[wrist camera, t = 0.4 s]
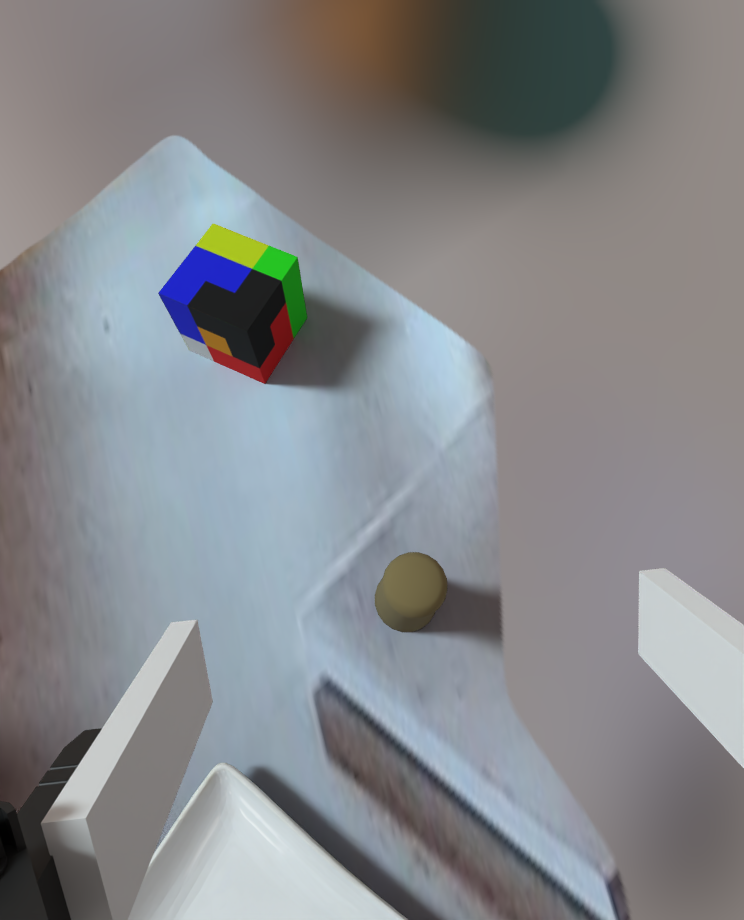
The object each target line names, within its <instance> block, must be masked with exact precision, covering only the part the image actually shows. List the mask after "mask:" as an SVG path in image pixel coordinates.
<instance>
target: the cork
mask: <svg viewBox="0 0 744 920" xmlns="http://www.w3.org/2000/svg"><path fill="white" fill-rule="evenodd" d="M446 593H447V578H446V576H445V573H444V571H443V569H442V567H441V566H440V565H439V564H438V562H437V561H436V560H434V559H433V558H431V557H430V556H428V555H425V554H422V553H419V552H410V553H406V554H403V555H400V556H398V557H397V558H395V559H394V560H393V561H391V563H390V564H389V565H388V567H387V568H386V570H385V573H384V576H383V578H382V580H381V581H380V583H379V584H378V586H377V590H376V593H375V606H376V609H377V612H378V615H379V616H380V618H381V619H382V620H383V622H384V623H385V624H386V625H388V626H389V627H391V628H392V629H394V630H397V631H400V632H413V631H416V630H419V629H422V628H423V627H424V626H425V625H427V624H428V623H429V622H430V621H431V619H432V617H433V616H434V614H435V611H436V610H438V609H439V608H440V606H441V605H442V603H443V602H444V600H445V597H446Z"/></svg>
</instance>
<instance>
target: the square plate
mask: <svg viewBox="0 0 744 920" xmlns="http://www.w3.org/2000/svg"><path fill="white" fill-rule="evenodd" d="M128 920H408V919H407V918H406V917H404V916H403V915H402V914H400V913H399V912H398V911H397V910H395V909H394V908H393V907H392V906H391V905H389V904H388V903H387V902H386V901H384V900H383V899H382V898H381V897H379V896H378V895H377V894H376V893H375V892H373V891H372V890H371V889H370V888H369V887H367V886H366V885H365V884H364V883H363V882H362V881H360V880H359V879H358V878H357V877H356V876H354V875H353V874H352V873H351V872H350V871H348V870H347V869H346V868H345V867H344V866H343V865H342V864H341V863H339V862H338V861H337V860H336V859H335V858H334V857H333V856H332V855H331V854H329V853H328V852H327V851H326V850H325V849H324V848H323V847H322V846H321V845H320V844H318V843H317V842H316V841H315V840H314V839H313V838H312V837H311V836H310V835H309V834H308V833H307V832H305V831H304V830H303V829H302V828H301V827H300V826H299V825H298V824H297V823H296V822H295V821H294V820H293V819H292V818H291V817H290V816H288V815H287V814H286V813H285V812H284V811H283V810H282V809H281V808H280V807H279V806H278V805H277V804H276V803H275V802H274V801H273V800H271V799H270V798H269V797H268V796H267V795H266V794H265V793H264V792H263V791H262V790H261V789H260V788H259V787H258V786H257V785H255V784H254V783H253V782H252V781H251V780H250V779H248V778H247V777H246V776H245V775H244V774H243V773H242V772H240V771H239V770H238V769H236V768H235V767H234V766H232V765H229V764H227V763H219V764H217V765H216V766H215V767H214V768H213V769H212V770H211V772H210V773H209V774H208V776H207V777H206V778H205V780H204V781H203V782H202V784H201V785H200V786H199V788H198V789H197V791H196V792H195V793H194V795H193V796H192V797H191V799H190V801H189V802H188V804H187V805H186V807H185V808H184V810H183V811H182V813H181V814H180V816H179V817H178V819H177V820H176V822H175V823H174V825H173V826H172V828H171V829H170V831H169V832H168V834H167V835H166V837H165V838H164V840H163V841H162V842H161V844H160V845H159V847H158V848H157V850H156V851H155V853H154V854H153V856H152V859H151V861H150V864H149V867H148V869H147V872H146V874H145V877H144V879H143V882H142V884H141V887H140V890H139V892H138V895H137V897H136V900H135V902H134V905H133V908H132V910H131V913H130V915H129V918H128Z"/></svg>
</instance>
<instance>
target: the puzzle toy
mask: <svg viewBox="0 0 744 920" xmlns="http://www.w3.org/2000/svg"><path fill="white" fill-rule="evenodd" d="M158 294H159V296H160V297H161V299H162V301H163V303H164V305H165V307H166V308H167V310H168V312H169V314H170V316H171V318H172V319H173V321H174V323H175V325H176V327H177V329H178V330H179V332H180V334H181V336H182V338H183V340H184V342H185V343H186V345H187V347H188V349H189V350H190V351H192V352H194V353H196V354H199V355H201V356H203V357H205V358H208V359H210V360H212V361H214V362H217V363H219V364H221V365H223V366H226V367H228V368H230V369H232V370H235V371H237V372H239V373H241V374H244V375H246V376H248V377H250V378H253V379H255V380H257V381H259V382H262V383H264V384H265V383H266V382H267V380H268V378H269V377H270V375H271V374H272V372H273V371H274V369H275V367H276V366H277V364H278V363H279V361H280V360H281V358H282V356H283V355H284V353H285V352H286V350H287V349H288V347H289V346H290V344H291V342H292V341H293V339H294V338H295V336H296V335H297V333H298V331H299V330H300V328H301V327H302V325H303V324H304V322H305V320H306V319H307V313H306V307H305V301H304V294H303V288H302V282H301V276H300V269H299V263H298V257H296V256H294V255H291V254H289V253H286V252H284V251H281V250H279V249H276V248H273V247H271V246H268V245H266V244H263V243H261V242H258V241H256V240H253V239H251V238H248V237H246V236H243V235H241V234H238V233H236V232H233V231H231V230H228V229H226V228H223V227H221V226H218V225H216V224H212V225H211V227H210V228H209V229H208V230H207V232H206V233H205V234H204V236H203V237H202V238H201V239H200V241H199V242H198V243H197V244H196V246H195V247H194V248H193V250H192V251H191V252H190V253H189V255H188V256H187V257H186V259H185V260H184V261H183V262H182V264H181V265H180V266H179V267H178V269H177V270H176V271H175V273H174V274H173V275H172V276H171V278H170V279H169V280H168V281H167V283H166V284H165V285H164V287H163V288H162V289H161V290H160V292H159V293H158Z"/></svg>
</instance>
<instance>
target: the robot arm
mask: <svg viewBox="0 0 744 920" xmlns="http://www.w3.org/2000/svg"><path fill="white" fill-rule="evenodd" d="M638 648H639V649H638V653H639V655H640V656H641V657H642V658H643V659H644V661H645V662H646V663H647V664H648V665H649V666H650V667H651V668H652V669H653V670H654V671H655V672H656V673H657V675H658V676H659V677H660V678H661V679H662V680H663V681H664V682H665V683H666V684H667V685H668V687H669V688H670V689H671V690H672V691H673V692H674V693H675V694H676V695H677V696H678V697H679V698H680V700H681V701H682V702H683V703H684V704H685V705H686V706H687V707H688V708H689V709H690V711H691V712H692V713H693V714H694V715H695V716H696V717H697V718H698V719H699V720H700V721H701V722H702V723H703V725H704V726H705V727H706V728H707V729H708V730H709V731H710V732H711V733H712V734H713V735H714V737H715V738H716V739H717V740H718V741H719V742H720V743H721V744H722V745H723V746H724V747H725V749H726V750H728V752H729V753H730V754H731V755H732V756H733V757H734V758H735V759H736V761H737V762H738V763H739V764H740V765H741V766H742V767H743V768H744V625H743V624H741V623H740V622H739V621H737V620H736V619H734V618H733V617H732V616H730V615H729V614H728V613H726V612H725V611H723V610H722V609H721V608H719V607H718V606H716V605H715V604H713V603H712V602H711V601H709V600H708V599H707V598H705V597H704V596H702V595H701V594H700V593H698V592H697V591H696V590H694V589H693V588H691V587H690V586H689V585H687V584H686V583H685V582H683V581H682V580H680V579H679V578H677V577H676V576H675V575H673V574H672V573H670V572H669V571H668V570H666V569H665V568H662V569H654V570H644V571H639V643H638ZM212 702H213V700H212V695H211V689H210V684H209V679H208V674H207V669H206V663H205V658H204V653H203V648H202V642H201V637H200V632H199V627H198V621H197V620H190V621H181V622H172V623H170V625H169V627H168V628H167V630H166V631H165V633H164V634H163V636H162V637H161V639H160V640H159V642H158V643H157V645H156V647H155V648H154V650H153V651H152V653H151V654H150V656H149V657H148V659H147V660H146V662H145V663H144V665H143V667H142V668H141V670H140V671H139V673H138V674H137V676H136V677H135V679H134V680H133V682H132V684H131V685H130V687H129V688H128V690H127V691H126V693H125V694H124V696H123V697H122V699H121V700H120V702H119V704H118V705H117V707H116V708H115V710H114V711H113V713H112V714H111V716H110V717H109V719H108V720H107V722H106V724H105V725H104V727H103V728H102V729H93V730H85V731H83V732H82V733H81V734H80V735H79V736H78V737H76V738H75V739H74V740H73V741H72V742H70V743H69V744H68V745H67V746H66V747H65V748H64V749H63V750H62V752H61V753H60V754H59V756H58V757H57V759H56V760H55V761H54V763H53V764H52V766H51V769H50V771H47V773H46V774H45V775H44V777H43V778H42V780H41V781H40V782H39V787H36V788H35V789H34V791H33V792H32V794H31V795H30V796H29V798H28V799H27V801H26V802H25V803H24V805H23V806H22V808H21V809H20V810H19V812H18V813H16V810H15V808H14V807H13V806H12V805H11V804H10V803H8V802H1V801H0V920H128V918H129V915H130V913H131V910H132V908H133V905H134V902H135V900H136V897H137V895H138V892H139V890H140V887H141V884H142V882H143V879H144V877H145V874H146V872H147V869H148V867H149V864H150V861H151V859H152V856H153V854H154V851H155V849H156V846H157V843H158V841H159V838H160V836H161V833H162V831H163V828H164V825H165V823H166V820H167V818H168V815H169V813H170V810H171V808H172V805H173V802H174V800H175V797H176V795H177V792H178V790H179V787H180V784H181V782H182V779H183V777H184V774H185V772H186V769H187V767H188V764H189V761H190V759H191V756H192V754H193V751H194V749H195V746H196V743H197V741H198V738H199V736H200V733H201V731H202V728H203V725H204V723H205V720H206V718H207V715H208V713H209V710H210V708H211V705H212Z"/></svg>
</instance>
